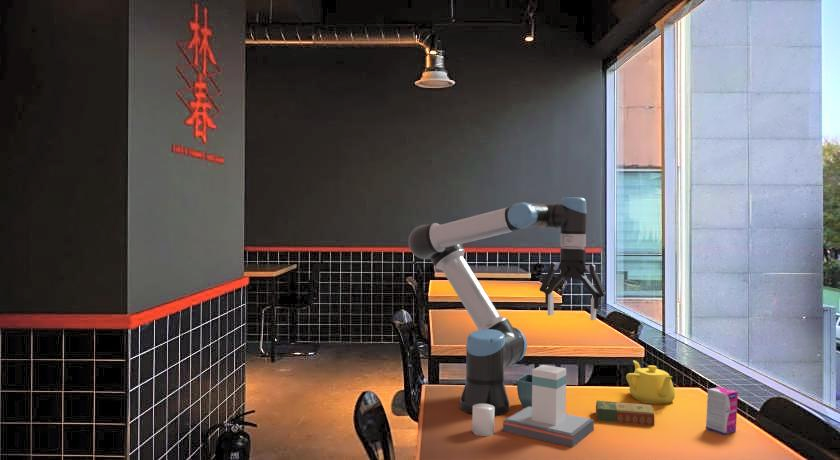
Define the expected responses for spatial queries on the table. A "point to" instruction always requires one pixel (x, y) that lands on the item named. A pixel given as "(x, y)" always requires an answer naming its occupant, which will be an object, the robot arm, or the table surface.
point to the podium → (549, 428)
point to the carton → (625, 413)
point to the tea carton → (548, 394)
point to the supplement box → (721, 410)
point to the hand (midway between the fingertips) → (571, 317)
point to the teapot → (651, 385)
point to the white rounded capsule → (483, 419)
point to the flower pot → (525, 390)
